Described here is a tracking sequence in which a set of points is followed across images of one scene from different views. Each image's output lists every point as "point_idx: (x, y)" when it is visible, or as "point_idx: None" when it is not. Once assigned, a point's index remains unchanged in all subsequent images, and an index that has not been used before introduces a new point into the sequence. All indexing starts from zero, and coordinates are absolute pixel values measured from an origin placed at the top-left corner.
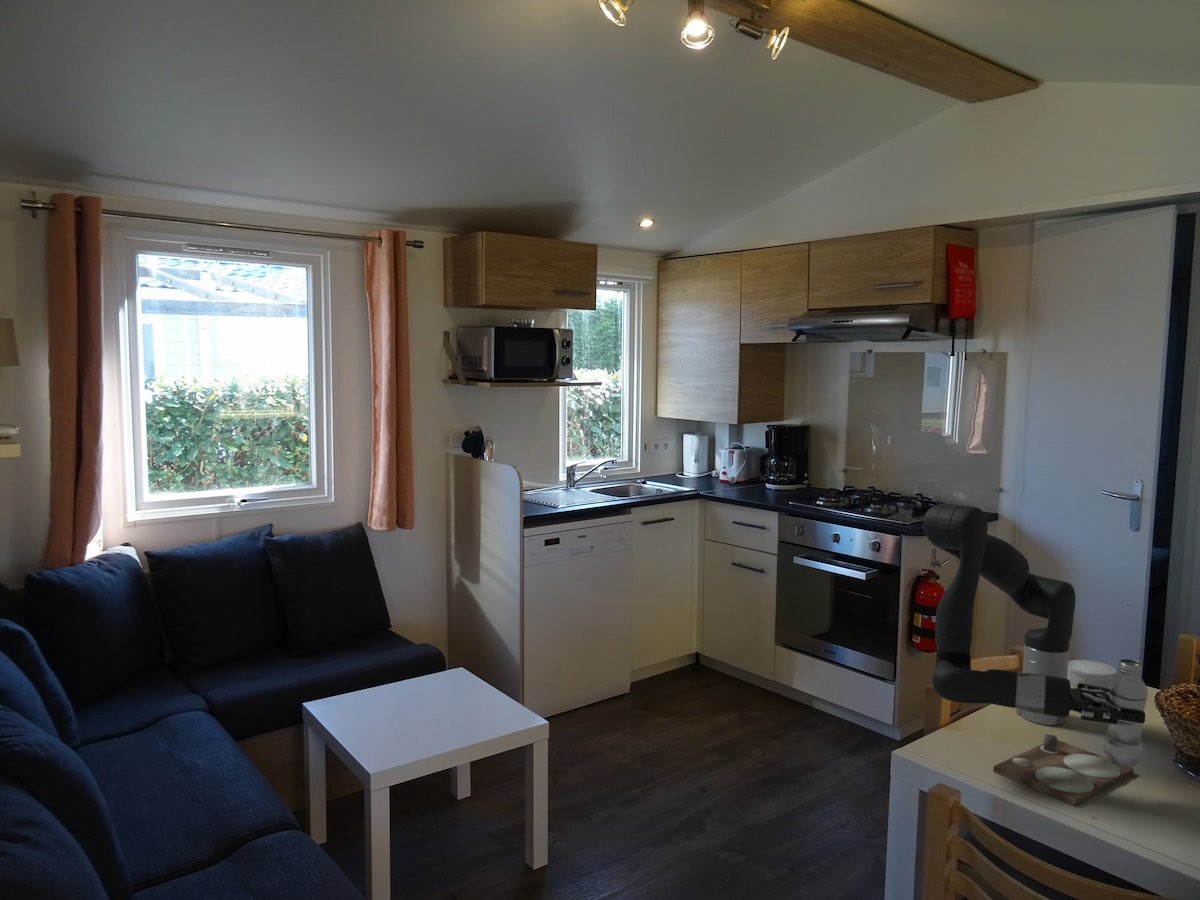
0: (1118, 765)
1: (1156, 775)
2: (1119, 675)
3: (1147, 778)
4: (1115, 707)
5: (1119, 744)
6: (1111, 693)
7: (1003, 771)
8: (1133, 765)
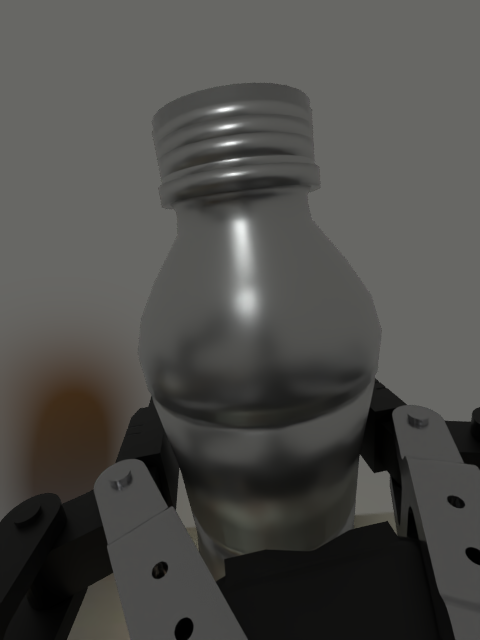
0: None
1: (81, 612)
2: (286, 230)
3: (107, 637)
4: (434, 425)
5: None
6: (353, 393)
7: None
8: None
